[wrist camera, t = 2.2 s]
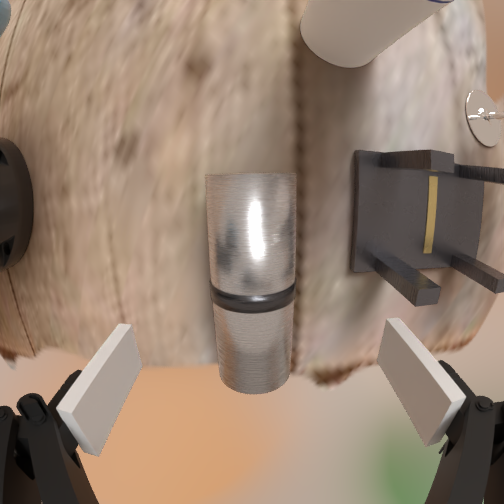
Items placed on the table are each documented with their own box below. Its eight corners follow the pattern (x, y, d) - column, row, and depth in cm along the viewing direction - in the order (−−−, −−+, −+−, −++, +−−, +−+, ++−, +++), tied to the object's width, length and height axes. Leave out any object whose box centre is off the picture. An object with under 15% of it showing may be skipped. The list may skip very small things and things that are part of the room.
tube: (286, 348, 26) (295, 392, 20) (221, 350, 26) (215, 395, 20) (289, 172, 21) (306, 173, 15) (209, 174, 21) (196, 175, 15)
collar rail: (350, 268, 24) (389, 310, 16) (354, 150, 21) (403, 144, 13) (469, 261, 24) (517, 289, 16) (478, 169, 21) (533, 176, 13)
